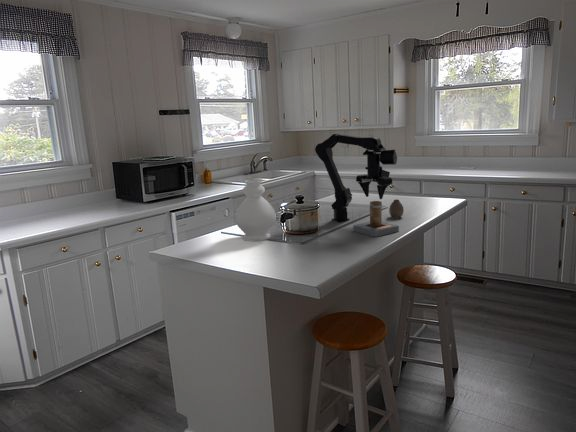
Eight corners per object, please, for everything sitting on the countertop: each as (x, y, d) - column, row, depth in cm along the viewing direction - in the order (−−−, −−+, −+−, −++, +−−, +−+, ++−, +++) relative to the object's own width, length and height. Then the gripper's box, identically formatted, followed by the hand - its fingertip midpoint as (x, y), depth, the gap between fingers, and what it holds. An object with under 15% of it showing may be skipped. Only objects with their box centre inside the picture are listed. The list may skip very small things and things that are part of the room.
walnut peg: (368, 231, 205) (368, 203, 202) (372, 229, 209) (372, 200, 206) (379, 232, 202) (379, 203, 199) (383, 230, 207) (383, 201, 204)
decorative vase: (248, 245, 191) (244, 185, 186) (229, 236, 206) (225, 181, 200) (284, 237, 201) (282, 180, 195) (263, 229, 215) (260, 176, 210)
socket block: (353, 230, 208) (353, 224, 207) (376, 225, 215) (376, 219, 214) (375, 236, 196) (375, 230, 196) (398, 231, 204) (398, 225, 203)
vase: (387, 218, 228) (387, 200, 226) (391, 215, 234) (391, 198, 232) (401, 219, 224) (401, 201, 222) (404, 216, 230) (405, 198, 228)
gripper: (401, 164, 210) (401, 197, 213) (372, 161, 225) (373, 193, 229) (383, 166, 204) (383, 201, 207) (355, 164, 219) (355, 196, 223)
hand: (374, 197), depth 217 cm, fingers open, 9 cm apart
